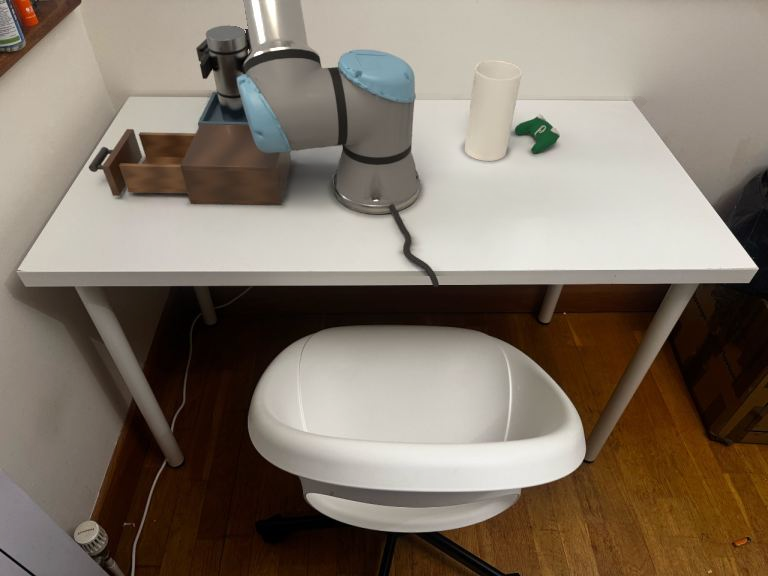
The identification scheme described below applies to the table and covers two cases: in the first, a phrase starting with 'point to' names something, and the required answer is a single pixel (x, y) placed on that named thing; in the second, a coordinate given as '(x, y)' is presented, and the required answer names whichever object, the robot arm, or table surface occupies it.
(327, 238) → the table surface
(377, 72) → the robot arm
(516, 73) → the cup
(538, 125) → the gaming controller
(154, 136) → the drawer
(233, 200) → the cabinet
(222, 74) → the steel travel flask
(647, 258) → the table surface
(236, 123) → the tray
